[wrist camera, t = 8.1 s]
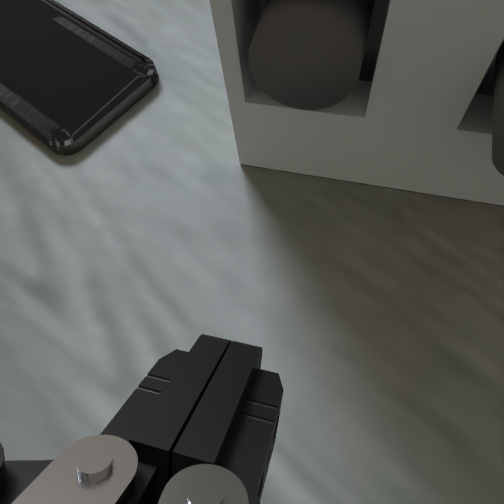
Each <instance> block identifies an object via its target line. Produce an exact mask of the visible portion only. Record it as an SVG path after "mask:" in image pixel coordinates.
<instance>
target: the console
mask: <svg viewBox="0 0 504 504" xmlns="http://www.w3.org/2000/svg"><path fill="white" fill-rule="evenodd" d="M265 2H266V0H210V5H211V10H212V16H213V21H214V26H215V32H216V37H217V43H218V48H219V53H220V59H221V64H222V69H223V75H224V80H225V85H226V91H227V96H228V102H229V107H230V112H231V118H232V123H233V128H234V134H235V139H236V145H237V150H238V155H239V161H240V164H243V165H250V166H256V167H262V168H269V169H275V170H281V171H288V172H294V173H300V174H307V175H313V176H319V177H326V178H332V179H338V180H345V181H351V182H357V183H363V184H370V185H376V186H382V187H389V188H395V189H401V190H408V191H414V192H420V193H427V194H433V195H439V196H446V197H452V198H458V199H465V200H471V201H477V202H484V203H490V204H496V205H502V206H504V176H503V175H501V174H500V173H499V172H498V171H497V169H496V168H495V167H494V164H493V162H492V129H493V101H494V72H495V60H496V56H497V54H498V51H499V49H500V48H501V46H502V44H503V43H504V0H375V1H374V6H373V11H372V16H371V21H370V26H369V31H368V36H367V41H366V45H365V50H364V55H363V60H362V65H361V70H360V75H359V79H358V82H357V84H356V86H355V88H354V89H353V91H352V92H351V93H350V94H349V95H348V96H347V97H346V98H345V99H344V100H342V101H341V102H339V103H337V104H335V105H333V106H330V107H327V108H323V109H316V110H304V109H297V108H293V107H289V106H286V105H284V104H282V103H279V102H277V101H276V100H274V99H272V98H271V97H270V96H268V95H267V94H266V93H265V92H264V91H263V90H262V89H261V88H260V87H259V86H258V85H257V83H256V82H255V80H254V78H253V76H252V74H251V71H250V68H249V63H248V53H249V48H250V45H251V42H252V39H253V36H254V33H255V31H256V28H257V25H258V22H259V19H260V17H261V14H262V11H263V8H264V5H265Z"/></svg>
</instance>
